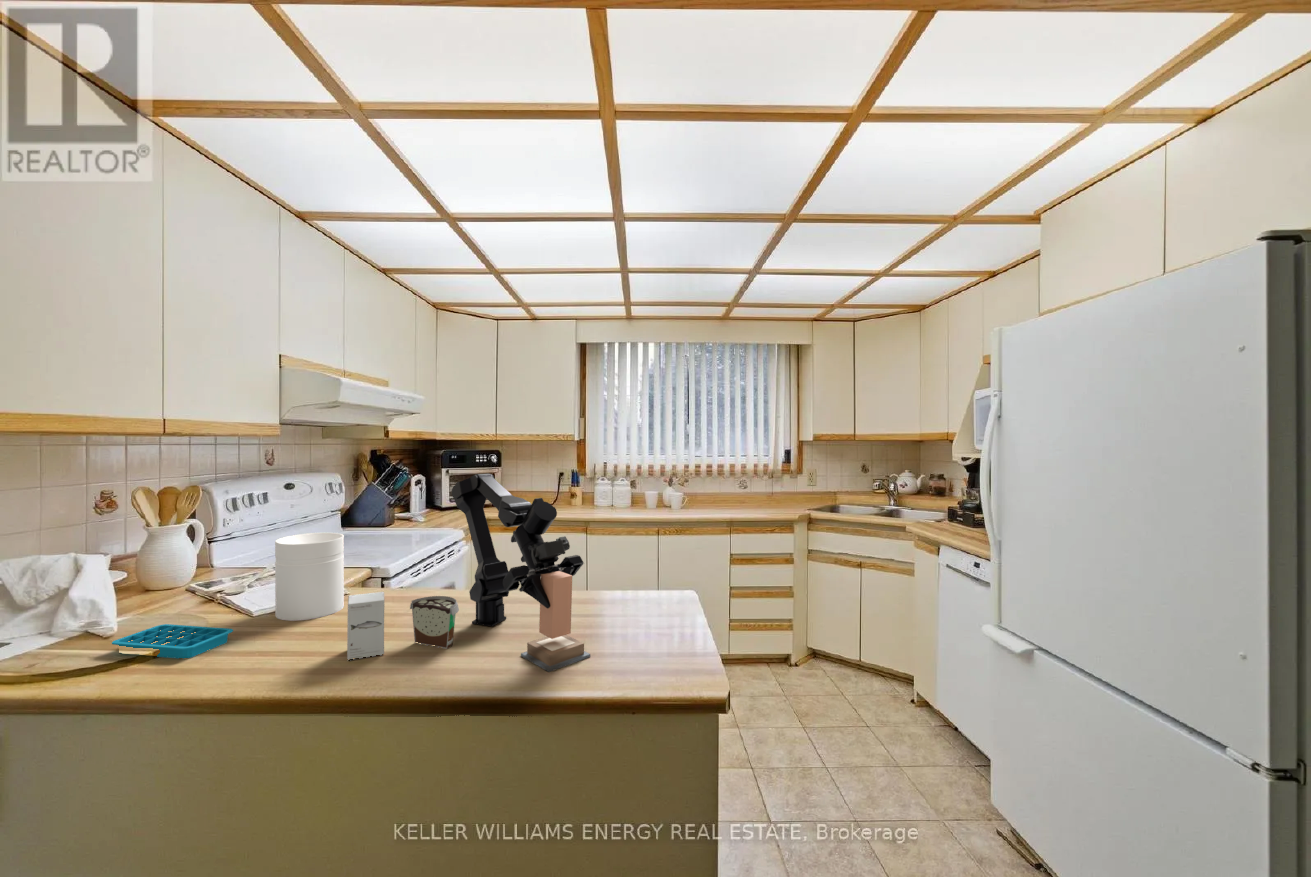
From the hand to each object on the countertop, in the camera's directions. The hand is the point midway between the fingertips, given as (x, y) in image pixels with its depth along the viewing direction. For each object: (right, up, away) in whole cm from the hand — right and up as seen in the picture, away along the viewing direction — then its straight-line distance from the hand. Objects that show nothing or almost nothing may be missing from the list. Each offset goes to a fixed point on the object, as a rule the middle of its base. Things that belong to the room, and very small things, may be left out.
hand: (559, 604), depth 120 cm
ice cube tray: (-89, -12, +4) cm, 90 cm away
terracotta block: (-1, -7, +1) cm, 7 cm away
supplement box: (-44, -12, +2) cm, 46 cm away
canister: (-74, -11, +29) cm, 80 cm away
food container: (-30, -12, +9) cm, 34 cm away
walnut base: (-1, -12, +1) cm, 12 cm away
